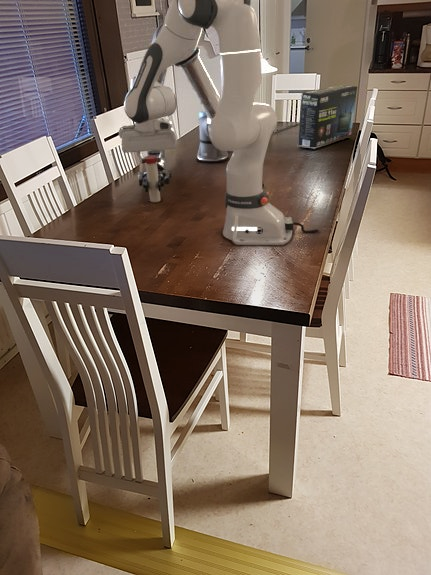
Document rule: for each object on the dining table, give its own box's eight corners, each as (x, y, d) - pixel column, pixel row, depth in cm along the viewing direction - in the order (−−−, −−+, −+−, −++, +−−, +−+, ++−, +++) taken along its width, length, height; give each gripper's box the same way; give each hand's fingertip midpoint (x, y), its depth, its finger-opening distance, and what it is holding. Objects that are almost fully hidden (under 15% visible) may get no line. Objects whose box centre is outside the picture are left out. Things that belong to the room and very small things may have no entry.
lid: (160, 161, 171) (160, 156, 170) (150, 164, 168) (149, 159, 167) (152, 159, 174) (151, 154, 173) (141, 162, 171) (141, 157, 170)
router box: (314, 151, 231) (318, 94, 217) (296, 148, 237) (299, 92, 224) (352, 138, 251) (358, 85, 238) (335, 135, 258) (340, 83, 245)
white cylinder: (156, 202, 177) (152, 160, 168) (148, 201, 178) (143, 159, 170) (162, 199, 180) (158, 157, 171) (153, 197, 181) (149, 156, 173)
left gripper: (177, 177, 193) (176, 196, 173) (136, 179, 193) (130, 199, 173) (175, 159, 189) (175, 177, 169) (134, 161, 189) (128, 179, 169)
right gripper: (117, 127, 160) (123, 167, 167) (175, 123, 163) (178, 162, 170) (118, 124, 166) (123, 162, 173) (174, 120, 168) (177, 158, 175)
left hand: (152, 188), depth 171 cm, fingers closed on white cylinder, 4 cm apart
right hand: (151, 162), depth 171 cm, fingers closed on lid, 5 cm apart
